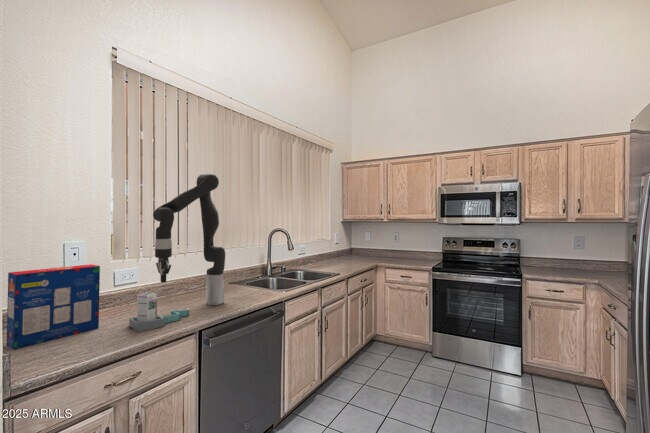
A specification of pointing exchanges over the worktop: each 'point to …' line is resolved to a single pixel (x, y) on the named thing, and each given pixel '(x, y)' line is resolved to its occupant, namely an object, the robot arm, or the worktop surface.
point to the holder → (146, 324)
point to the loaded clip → (181, 312)
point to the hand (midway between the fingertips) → (163, 282)
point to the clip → (171, 318)
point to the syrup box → (146, 307)
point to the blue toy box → (51, 304)
